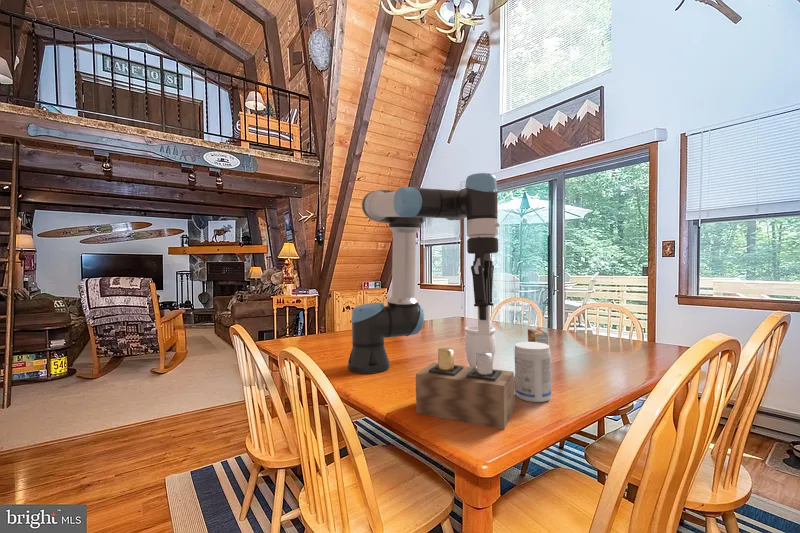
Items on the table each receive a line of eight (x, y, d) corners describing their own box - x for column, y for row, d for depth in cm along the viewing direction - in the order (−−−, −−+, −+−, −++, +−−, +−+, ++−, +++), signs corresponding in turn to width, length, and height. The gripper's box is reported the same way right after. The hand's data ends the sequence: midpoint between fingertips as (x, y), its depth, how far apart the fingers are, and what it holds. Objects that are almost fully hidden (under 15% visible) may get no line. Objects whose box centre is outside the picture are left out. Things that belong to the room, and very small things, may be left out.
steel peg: (474, 394, 92) (473, 354, 92) (478, 389, 96) (478, 350, 95) (490, 397, 90) (490, 355, 90) (494, 391, 94) (493, 352, 94)
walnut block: (416, 413, 95) (415, 371, 95) (434, 397, 106) (433, 360, 106) (504, 429, 85) (503, 383, 85) (514, 410, 96) (513, 369, 95)
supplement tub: (542, 390, 110) (541, 340, 110) (557, 402, 100) (557, 348, 100) (510, 391, 109) (509, 341, 109) (522, 404, 100) (521, 349, 100)
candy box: (527, 372, 128) (527, 328, 127) (540, 372, 127) (540, 328, 127) (535, 381, 119) (535, 333, 119) (549, 381, 118) (548, 333, 118)
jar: (459, 369, 134) (459, 327, 133) (483, 365, 138) (482, 324, 138) (477, 377, 124) (477, 331, 124) (502, 372, 128) (501, 329, 128)
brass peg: (436, 389, 97) (435, 350, 97) (442, 384, 100) (441, 347, 100) (451, 391, 95) (450, 351, 95) (456, 386, 98) (455, 348, 98)
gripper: (491, 234, 85) (493, 338, 85) (503, 238, 97) (505, 329, 97) (459, 236, 88) (461, 336, 88) (474, 239, 100) (476, 327, 100)
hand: (484, 332), depth 92 cm, fingers closed
